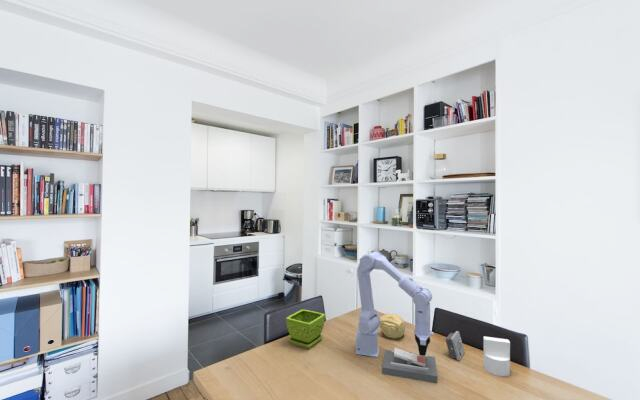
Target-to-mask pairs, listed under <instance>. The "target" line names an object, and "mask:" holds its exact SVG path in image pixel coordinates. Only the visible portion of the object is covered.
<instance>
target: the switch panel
mask: <svg viewBox="0 0 640 400" xmlns="http://www.w3.org/2000/svg"><path fill="white" fill-rule="evenodd" d="M409 352H410V351H409ZM410 353H412V351H411V352H410ZM414 354H415V355H418V356H421V357H423V358H425V367H423V366H420V365H418V364H415V363H412V362H411V360H404V359H401V358H398V357H396V356H394V350H391V349H385V350H384V355H383V360H382V367H381V368H382V370H381V371H382V372H381V374H382V375H387V376H388V375H389V376H394V377H398V378H399V377H400V378H406V379H411V380H419V381H422V382H423V381H424V382H428V383H429V382H430V383H436V384H438V381H439V380H438V371H437V370H438V369H437V365H436V363H437V361H436V357H435V356H432V355H427V354H426V355H425V356H422V355H420V354H419V353H418V354H417V353H414Z"/></svg>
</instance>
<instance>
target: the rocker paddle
mask: <svg viewBox="0 0 640 400" xmlns="http://www.w3.org/2000/svg"><path fill="white" fill-rule="evenodd" d="M393 351H394V356H396V357H398V358H401V359H404V360H411V362H412V363H415V364H418V365H420V366H423V367H425V358H423V357H421V356H418V355H415V354H416V353H412V352H411V353H410V351H406V350H403V349H400V348H397V347H394V350H393Z"/></svg>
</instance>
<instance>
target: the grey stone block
mask: <svg viewBox="0 0 640 400" xmlns="http://www.w3.org/2000/svg"><path fill="white" fill-rule="evenodd" d="M445 343H446V346H447V347H446V348H447V350H448V353H449V357H450V359H456V360H457V361H458V362H459V361H461V359H462V358H463V356H464V355H465V353H466V351H465V346H464V344H463V340H462V337H461V334H460V331H459V330H456V331H455V332H450V333H449V334H448V335H447V336H446V337H445Z"/></svg>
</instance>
